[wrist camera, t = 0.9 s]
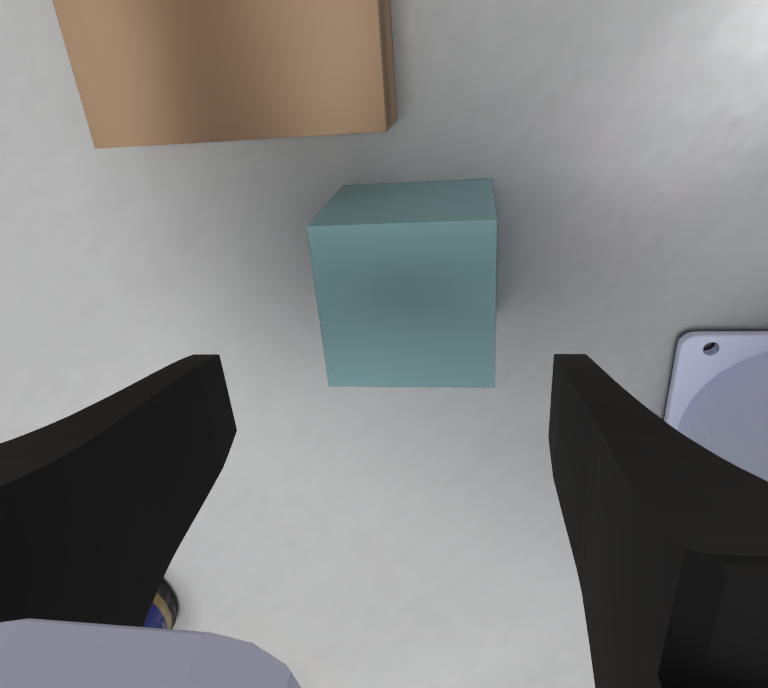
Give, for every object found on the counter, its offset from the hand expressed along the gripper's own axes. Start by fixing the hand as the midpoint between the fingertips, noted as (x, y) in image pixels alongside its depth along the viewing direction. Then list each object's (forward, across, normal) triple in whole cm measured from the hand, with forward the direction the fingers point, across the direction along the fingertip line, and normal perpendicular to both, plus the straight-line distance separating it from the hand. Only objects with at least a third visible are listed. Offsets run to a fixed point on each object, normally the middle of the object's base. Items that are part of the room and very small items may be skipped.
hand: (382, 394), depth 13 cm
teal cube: (+9, 0, 0) cm, 9 cm away
